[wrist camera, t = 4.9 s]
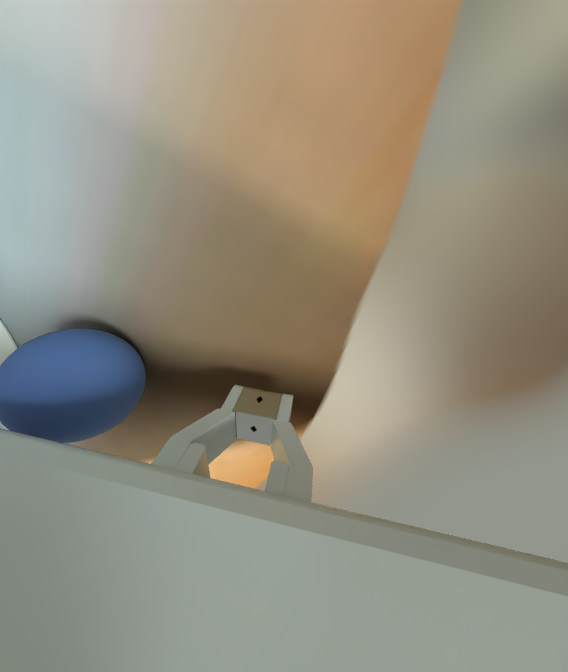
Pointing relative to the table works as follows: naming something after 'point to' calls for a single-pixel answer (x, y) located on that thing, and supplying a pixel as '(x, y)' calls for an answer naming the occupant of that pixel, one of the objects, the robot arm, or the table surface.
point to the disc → (6, 343)
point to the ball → (70, 385)
